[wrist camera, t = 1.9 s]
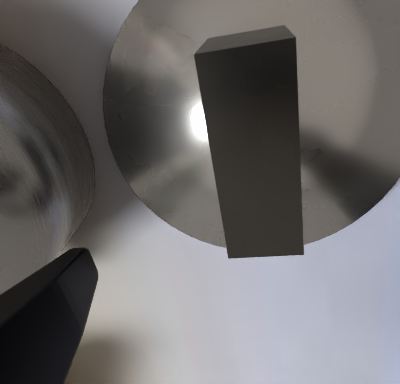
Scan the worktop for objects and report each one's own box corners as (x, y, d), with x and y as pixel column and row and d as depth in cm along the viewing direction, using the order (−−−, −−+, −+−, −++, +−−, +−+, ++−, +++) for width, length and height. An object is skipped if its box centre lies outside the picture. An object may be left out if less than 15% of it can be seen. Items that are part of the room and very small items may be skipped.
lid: (441, -103, 12) (555, -158, 7) (399, 229, 19) (446, 305, 14) (70, -20, 15) (-9, -24, 10) (150, 244, 21) (123, 311, 17)
